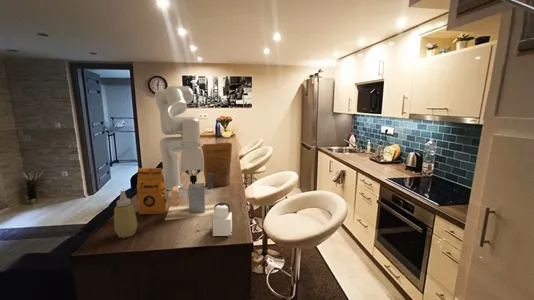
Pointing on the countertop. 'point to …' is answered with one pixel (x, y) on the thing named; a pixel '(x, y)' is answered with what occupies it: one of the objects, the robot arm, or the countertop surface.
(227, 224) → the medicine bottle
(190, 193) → the metal block
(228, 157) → the pancake mix bag
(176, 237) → the countertop surface
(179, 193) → the l-shaped metal bar
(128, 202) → the squeeze bottle
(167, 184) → the robot arm
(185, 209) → the board
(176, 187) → the collar
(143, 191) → the coffee package
